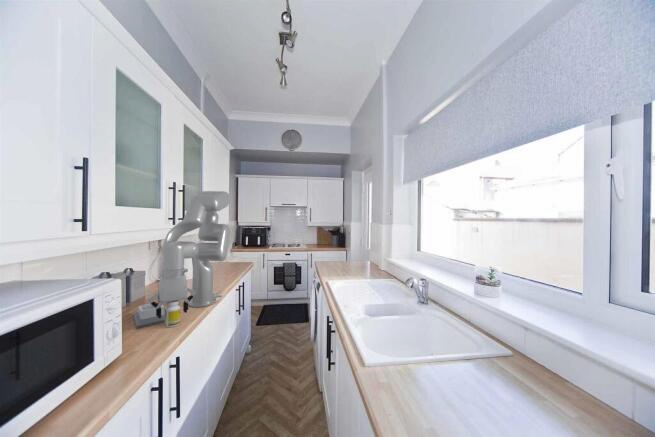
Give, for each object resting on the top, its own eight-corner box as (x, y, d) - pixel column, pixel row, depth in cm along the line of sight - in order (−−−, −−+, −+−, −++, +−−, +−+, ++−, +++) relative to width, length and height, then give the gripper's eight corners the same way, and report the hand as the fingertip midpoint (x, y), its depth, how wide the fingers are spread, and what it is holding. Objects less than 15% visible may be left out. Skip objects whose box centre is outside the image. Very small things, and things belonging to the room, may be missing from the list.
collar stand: (164, 309, 121) (164, 299, 121) (171, 320, 108) (171, 310, 108) (132, 315, 113) (133, 305, 113) (136, 328, 100) (137, 317, 100)
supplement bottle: (183, 323, 105) (183, 300, 105) (171, 328, 100) (172, 304, 100) (173, 321, 107) (173, 298, 107) (161, 326, 102) (162, 302, 102)
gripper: (193, 269, 112) (193, 307, 112) (146, 274, 101) (145, 317, 100) (198, 271, 107) (197, 312, 106) (149, 277, 95) (148, 322, 95)
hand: (172, 314), depth 103 cm, fingers open, 8 cm apart
